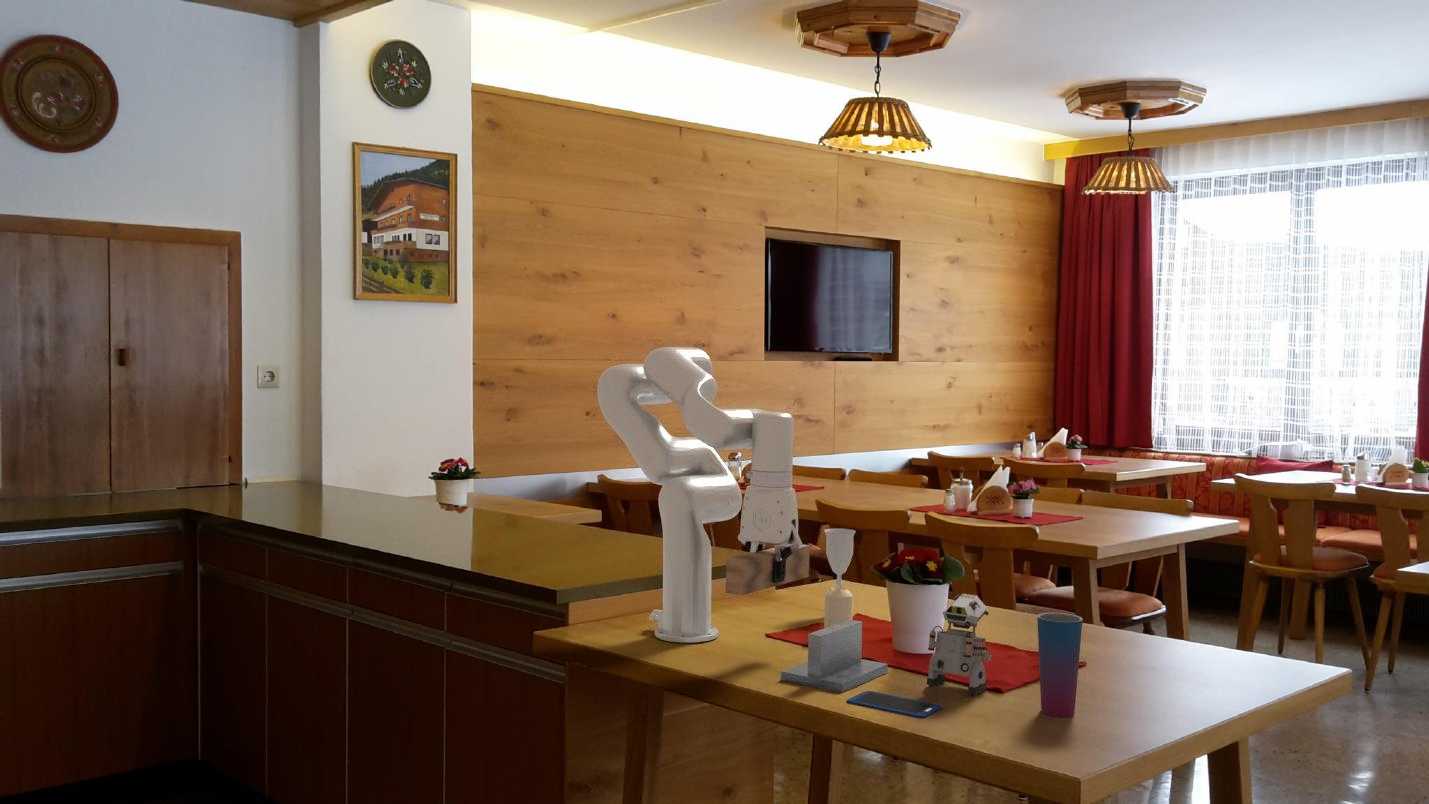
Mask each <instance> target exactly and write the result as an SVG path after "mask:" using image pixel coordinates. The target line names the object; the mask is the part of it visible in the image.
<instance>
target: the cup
mask: <svg viewBox="0 0 1429 804" xmlns="http://www.w3.org/2000/svg"><path fill="white" fill-rule="evenodd" d="M1036 619H1037V637H1038V638H1037V640H1038V643H1037V644H1038V664H1039V668H1038V669H1039V690H1040V711H1041V712H1042V713H1043V714H1045V715H1047V716H1053V717H1059V718H1066V717H1067V718H1068V717H1072V716H1074V715H1075V712H1076V711H1075V710H1076V699H1077V688H1078V676H1079V666H1080V665H1079V664H1080V654H1081V642H1082V631H1083V630H1082V628H1083V617H1082V616H1079V615H1076V614H1072V613H1064V612H1042V613H1039V614H1038V615H1037V617H1036Z"/></svg>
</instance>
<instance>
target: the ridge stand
mask: <svg viewBox="0 0 1429 804" xmlns="http://www.w3.org/2000/svg"><path fill="white" fill-rule="evenodd" d="M807 635H808V636H807V637H808V639H807V643H808V644H807V648H808V649H807V661H805V662H803V663H799V664H797V665H795V666H791V667H789V668H786V669H783V670H782V671H780V681H783V682H788V683H793V684H797V685H804V686H807V687H812V688H818V689H821V690H827V691H832V692H836V693H837V692H838V693H840V694H841V693H842V694H843V693H844V692H846V691H848V690H851V689H853V688H856V687H859V686H860V685H862V684H865V683H867V682H869V681H872V680H874V679H876V678H879V677H881V676H883V675H886V674H887V673H888V671H889V664H888V663H884V662H878V661H874V660H868V659H862V649H863V648H862V647H863V645H862V644H863V643H862V641H863V639H862V638H863V637H862V636H863V621H861V620H853V619H852V620H847V621H844V622H841V623H839V624H836V625H833V626H830V627H827V628H822V629H819V630H815V631H813V632H810V633H808V634H807Z"/></svg>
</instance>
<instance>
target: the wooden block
mask: <svg viewBox="0 0 1429 804" xmlns="http://www.w3.org/2000/svg"><path fill="white" fill-rule="evenodd" d="M791 544H792V543H788V546H790V545H791ZM775 560H776V559H775V549H774V547H770V548H767V549H764V550H762V551H758V552H753V553H750V552H749V553H744V554H741V555H737V556H732V557H729V558H726V560H725V561H726V562H725V566H726V567H725V570H726V571H725V593H726V594H733V595H736V596H737V595H738V596H745V595H748V594H752V593H756V592H759V591H762V590H766V589H771V588H773V587H778V586H781V585H786V584H788V583H792V582H795V581H798V580H804V579H806V578H809V577H810V573H809V572H810V571H809V570H810V545H809V544H803V547H802V548H800V549H798V550H797V551H794V552H793V553H792V554H791V555H790V556H789V558H788V559H787V560H786V574H785V579H784V581H782V582H778V583H773V582H772V572H773V561H775Z"/></svg>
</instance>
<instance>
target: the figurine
mask: <svg viewBox="0 0 1429 804" xmlns="http://www.w3.org/2000/svg"><path fill="white" fill-rule="evenodd" d="M942 615H943V619H944V620H945V621H947V624H948V626H947V627H948V628H947V629H946V630H944V629H943V628H942V627H941V626H940V625H936V626H934V627H933V629H932V630H930V632H929V640H928V647H927V650H928V651H933V653H932V655H931V656H930V659H929V665H928V671H927V672H928V674H927V675H928V676H927V678H926V685H927V686H928V687H931V688H932V687H933V688H935V687H937V686H938V685H943V684H944V683H945V681H946V674H945V673H947V674H952V675H957V676H965V677H969V686H968V687H967V693H968V694H969V695H971V696H974V697H975V696H977V695H979V693H981V694H982V693H983V692H984V693H985V692H986V690H987V682H986V670H985V665H984V662H988V663H989V662H991V661H992V656H993V653H989V652H988V647H987V646H986V640H987V639H986V638H985V637H982V636H978V635H977V634H976V629H977V628H978V622H980V620H981V619H982V618H983V617H984V616H985V615H986V616H988V615H989V611H987V606H986V605H985V603H984V602H983V601H982V600H981V599H980V597H978V595H976V594H969V593H962V594H957V595H956V596H954V597H953V601H952V602H951V603H950V604H949V605H948V606H947V607H946V608H945V609H944V610H943V611H942ZM951 627H953V628H951ZM971 627H972V631H971V630H970V631H969V629H970V628H971ZM936 628H940V630H937V631H936V630H935V629H936ZM956 628H960V629H956ZM963 629H967V630H963ZM983 659H984V662H982V661H983Z"/></svg>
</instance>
